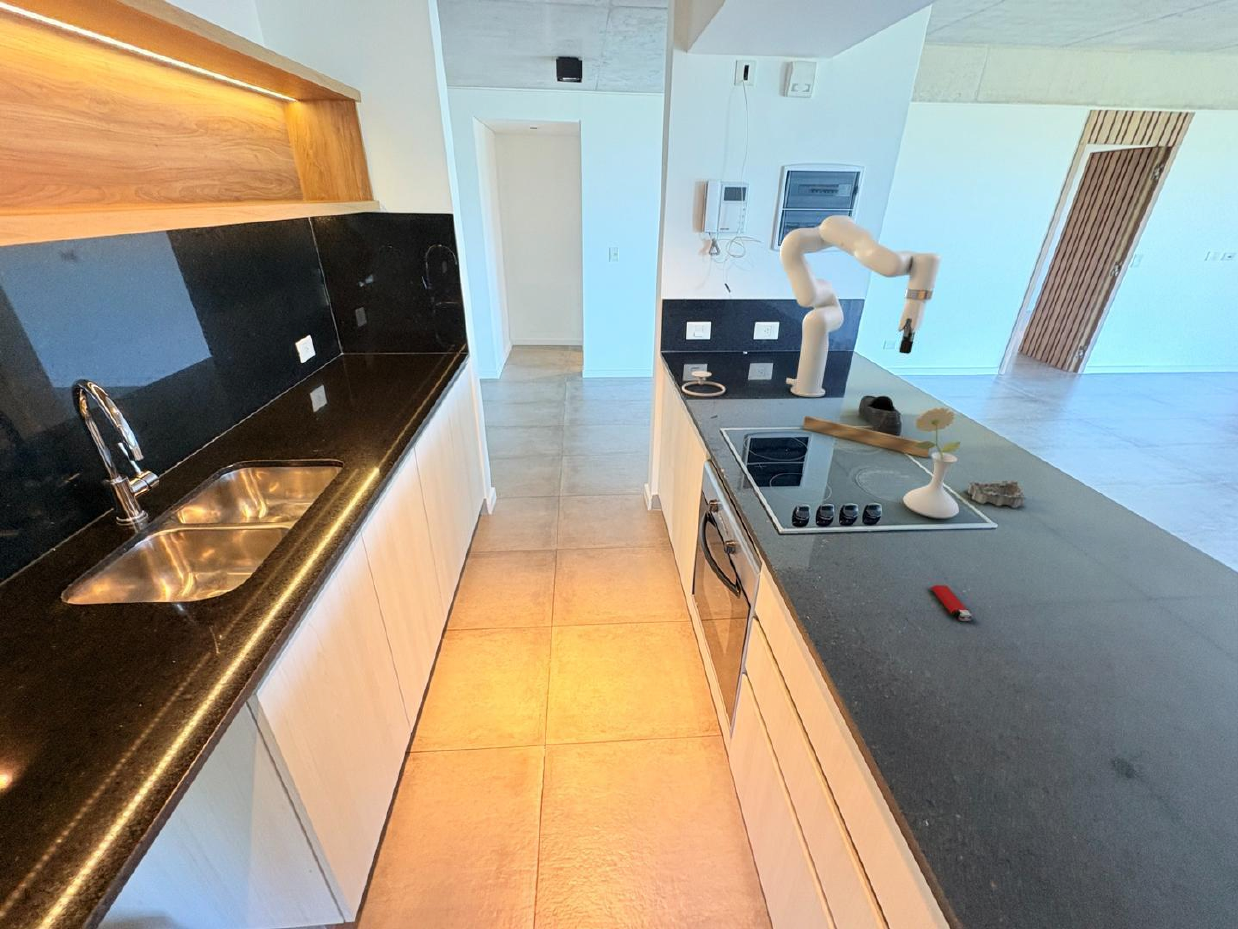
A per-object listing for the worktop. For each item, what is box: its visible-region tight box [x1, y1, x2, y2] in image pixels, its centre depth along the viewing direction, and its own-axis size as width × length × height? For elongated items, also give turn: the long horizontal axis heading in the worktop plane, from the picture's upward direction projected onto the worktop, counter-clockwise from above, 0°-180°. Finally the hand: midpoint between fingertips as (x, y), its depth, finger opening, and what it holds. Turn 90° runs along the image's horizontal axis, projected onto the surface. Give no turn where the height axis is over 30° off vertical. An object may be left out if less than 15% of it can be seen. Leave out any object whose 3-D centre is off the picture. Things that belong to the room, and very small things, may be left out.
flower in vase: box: [902, 407, 961, 519], centre depth 118 cm, size 13×11×25 cm
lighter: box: [931, 584, 973, 622], centre depth 93 cm, size 3×1×8 cm
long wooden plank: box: [802, 415, 930, 458], centre depth 159 cm, size 36×1×4 cm, turn 51°
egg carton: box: [967, 480, 1027, 509], centre depth 127 cm, size 11×8×4 cm
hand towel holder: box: [681, 370, 726, 398], centre depth 207 cm, size 17×4×21 cm
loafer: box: [858, 395, 902, 437], centre depth 171 cm, size 10×29×10 cm, turn 174°
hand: (904, 352), depth 174 cm, fingers closed
